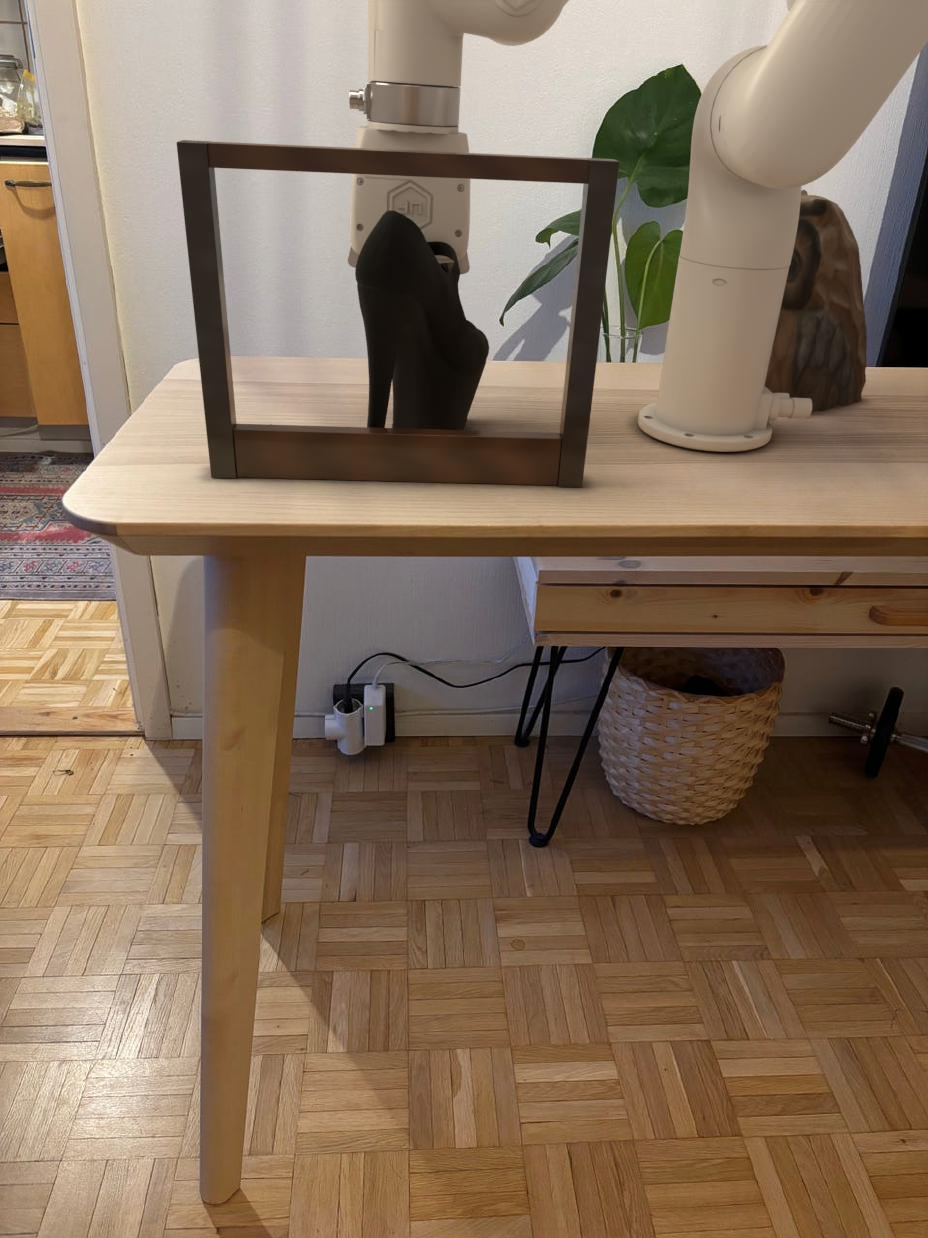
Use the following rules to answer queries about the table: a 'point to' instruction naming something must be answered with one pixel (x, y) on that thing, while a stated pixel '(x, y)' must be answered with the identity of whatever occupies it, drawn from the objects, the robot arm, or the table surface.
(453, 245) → the robot arm
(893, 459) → the table surface
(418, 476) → the wooden picture frame
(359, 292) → the high-heeled shoe
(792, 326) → the owl
